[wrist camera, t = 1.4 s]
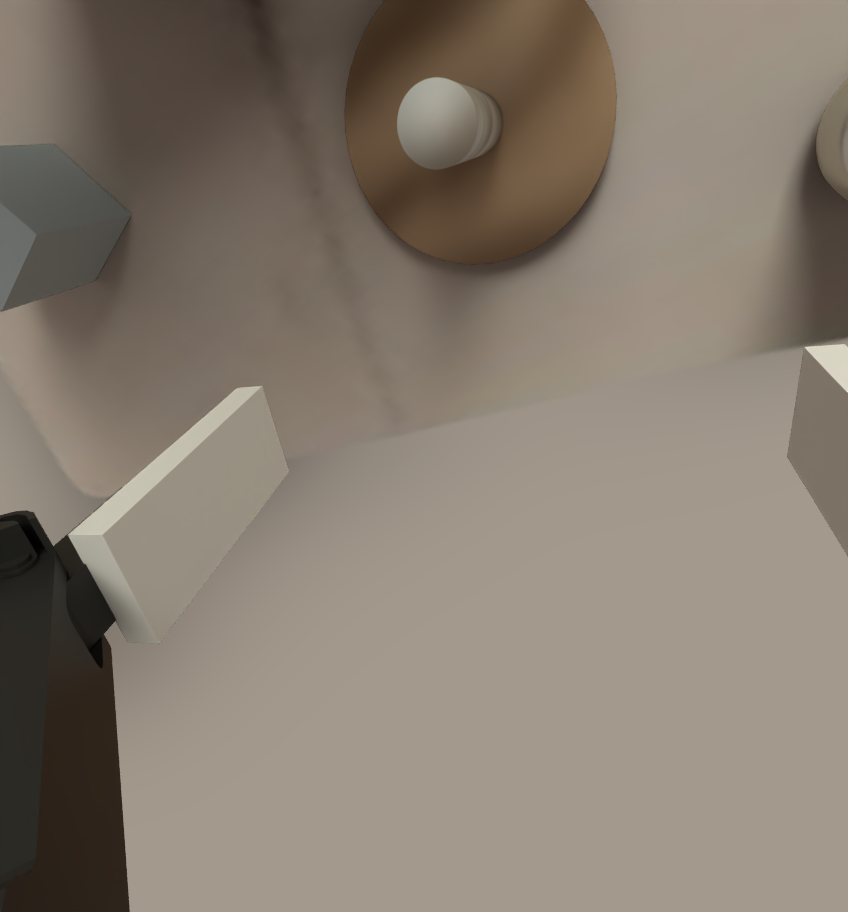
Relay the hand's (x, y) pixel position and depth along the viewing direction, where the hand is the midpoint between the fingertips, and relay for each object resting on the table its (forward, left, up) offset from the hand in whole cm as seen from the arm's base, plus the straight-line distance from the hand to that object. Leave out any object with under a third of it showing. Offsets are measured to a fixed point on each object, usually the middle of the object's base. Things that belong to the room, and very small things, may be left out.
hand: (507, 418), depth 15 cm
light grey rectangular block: (-23, -20, -23) cm, 38 cm away
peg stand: (-7, +2, -23) cm, 24 cm away
